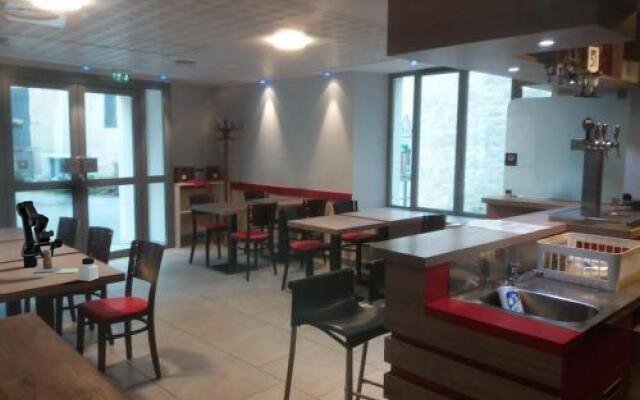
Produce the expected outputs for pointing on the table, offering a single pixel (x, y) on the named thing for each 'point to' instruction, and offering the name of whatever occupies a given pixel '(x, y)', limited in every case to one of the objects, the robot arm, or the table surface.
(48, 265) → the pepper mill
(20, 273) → the table surface
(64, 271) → the sage coaster
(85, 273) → the medicine bottle
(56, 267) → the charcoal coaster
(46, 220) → the robot arm
